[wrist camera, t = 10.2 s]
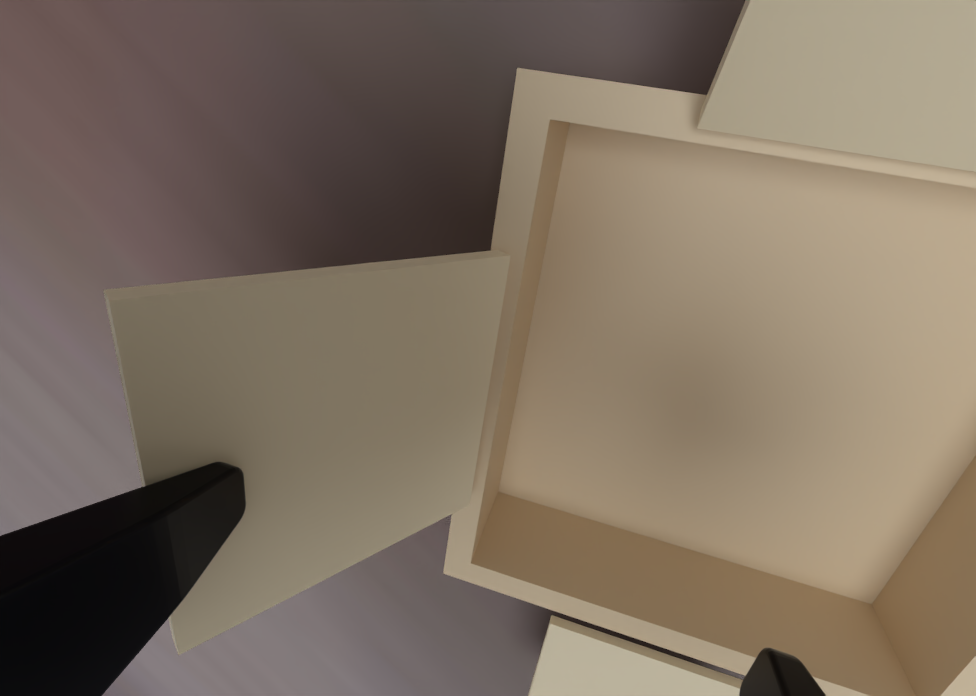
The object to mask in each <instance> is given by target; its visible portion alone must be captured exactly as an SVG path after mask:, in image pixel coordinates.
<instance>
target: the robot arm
mask: <svg viewBox="0 0 976 696" xmlns="http://www.w3.org/2000/svg"><path fill="white" fill-rule="evenodd" d="M245 508H246V496H245V484H244V474H243V471H242V470H241V469H240V468H239V467H236V466H233V465H230V464H227V463H224V462H214V463H211V464H208V465H205V466H202V467H199V468H196V469H193V470H190V471H187V472H185V473H182V474H179V475H176V476H173V477H170V478H167V479H164V480H161V481H158V482H155V483H153V484H150V485H147V486H144V487H141V488H138V489H135V490H132V491H129V492H126V493H124V494H121V495H118V496H115V497H112V498H109V499H106V500H103V501H100V502H97V503H95V504H92V505H89V506H86V507H83V508H80V509H77V510H74V511H71V512H68V513H65V514H63V515H60V516H57V517H54V518H51V519H48V520H45V521H42V522H39V523H36V524H34V525H31V526H28V527H25V528H22V529H19V530H16V531H13V532H10V533H7V534H4V535H2V536H0V696H102V695H103V694H104V692H105V691H106V690H107V689H108V688H109V687H110V685H111V684H112V683H113V682H114V681H115V680H116V678H117V677H118V676H119V675H120V674H121V673H122V671H123V670H124V669H125V668H126V667H127V666H128V664H129V663H130V662H131V661H132V660H133V659H134V657H135V656H136V655H137V654H138V653H139V652H140V650H141V649H142V648H143V647H144V646H145V645H146V643H147V642H148V641H149V640H150V639H151V638H152V636H153V635H154V634H155V633H156V632H157V631H158V629H159V628H160V627H161V626H162V625H163V624H164V622H165V621H166V620H167V619H168V618H169V617H170V615H171V614H172V613H173V612H174V611H175V609H176V608H177V607H178V606H179V604H180V603H181V602H182V601H183V599H184V598H185V597H186V595H187V594H188V593H189V592H190V590H191V589H192V588H193V586H194V585H195V583H196V582H197V581H198V579H199V578H200V576H201V575H202V574H203V572H204V571H205V569H206V568H207V566H208V565H209V564H210V562H211V561H212V559H213V558H214V557H215V555H216V554H217V552H218V551H219V550H220V548H221V547H222V545H223V544H224V543H225V541H226V540H227V538H228V537H229V536H230V534H231V533H232V531H233V530H234V529H235V527H236V526H237V524H238V523H239V522H240V520H241V518H242V517H243V515H244V512H245ZM739 696H826V695H825V693H824V692H823V691H822V689H821V688H820V686H819V685H818V684H817V682H816V681H815V679H814V678H813V677H812V675H811V674H810V672H809V671H808V670H807V668H806V667H805V665H804V664H803V663H802V662H801V661H800V660H799V659H798V658H797V657H795V656H793V655H790V654H787V653H784V652H782V651H779V650H776V649H773V648H768V647H766V648H764V649H762V650H761V651H760V653H759V654H758V656H757V658H756V659H755V661H754V663H753V664H752V666H751V668H750V669H749V671H748V673H747V674H746V676H745V678H744V679H743V681H742V684H741V687H740V692H739Z"/></svg>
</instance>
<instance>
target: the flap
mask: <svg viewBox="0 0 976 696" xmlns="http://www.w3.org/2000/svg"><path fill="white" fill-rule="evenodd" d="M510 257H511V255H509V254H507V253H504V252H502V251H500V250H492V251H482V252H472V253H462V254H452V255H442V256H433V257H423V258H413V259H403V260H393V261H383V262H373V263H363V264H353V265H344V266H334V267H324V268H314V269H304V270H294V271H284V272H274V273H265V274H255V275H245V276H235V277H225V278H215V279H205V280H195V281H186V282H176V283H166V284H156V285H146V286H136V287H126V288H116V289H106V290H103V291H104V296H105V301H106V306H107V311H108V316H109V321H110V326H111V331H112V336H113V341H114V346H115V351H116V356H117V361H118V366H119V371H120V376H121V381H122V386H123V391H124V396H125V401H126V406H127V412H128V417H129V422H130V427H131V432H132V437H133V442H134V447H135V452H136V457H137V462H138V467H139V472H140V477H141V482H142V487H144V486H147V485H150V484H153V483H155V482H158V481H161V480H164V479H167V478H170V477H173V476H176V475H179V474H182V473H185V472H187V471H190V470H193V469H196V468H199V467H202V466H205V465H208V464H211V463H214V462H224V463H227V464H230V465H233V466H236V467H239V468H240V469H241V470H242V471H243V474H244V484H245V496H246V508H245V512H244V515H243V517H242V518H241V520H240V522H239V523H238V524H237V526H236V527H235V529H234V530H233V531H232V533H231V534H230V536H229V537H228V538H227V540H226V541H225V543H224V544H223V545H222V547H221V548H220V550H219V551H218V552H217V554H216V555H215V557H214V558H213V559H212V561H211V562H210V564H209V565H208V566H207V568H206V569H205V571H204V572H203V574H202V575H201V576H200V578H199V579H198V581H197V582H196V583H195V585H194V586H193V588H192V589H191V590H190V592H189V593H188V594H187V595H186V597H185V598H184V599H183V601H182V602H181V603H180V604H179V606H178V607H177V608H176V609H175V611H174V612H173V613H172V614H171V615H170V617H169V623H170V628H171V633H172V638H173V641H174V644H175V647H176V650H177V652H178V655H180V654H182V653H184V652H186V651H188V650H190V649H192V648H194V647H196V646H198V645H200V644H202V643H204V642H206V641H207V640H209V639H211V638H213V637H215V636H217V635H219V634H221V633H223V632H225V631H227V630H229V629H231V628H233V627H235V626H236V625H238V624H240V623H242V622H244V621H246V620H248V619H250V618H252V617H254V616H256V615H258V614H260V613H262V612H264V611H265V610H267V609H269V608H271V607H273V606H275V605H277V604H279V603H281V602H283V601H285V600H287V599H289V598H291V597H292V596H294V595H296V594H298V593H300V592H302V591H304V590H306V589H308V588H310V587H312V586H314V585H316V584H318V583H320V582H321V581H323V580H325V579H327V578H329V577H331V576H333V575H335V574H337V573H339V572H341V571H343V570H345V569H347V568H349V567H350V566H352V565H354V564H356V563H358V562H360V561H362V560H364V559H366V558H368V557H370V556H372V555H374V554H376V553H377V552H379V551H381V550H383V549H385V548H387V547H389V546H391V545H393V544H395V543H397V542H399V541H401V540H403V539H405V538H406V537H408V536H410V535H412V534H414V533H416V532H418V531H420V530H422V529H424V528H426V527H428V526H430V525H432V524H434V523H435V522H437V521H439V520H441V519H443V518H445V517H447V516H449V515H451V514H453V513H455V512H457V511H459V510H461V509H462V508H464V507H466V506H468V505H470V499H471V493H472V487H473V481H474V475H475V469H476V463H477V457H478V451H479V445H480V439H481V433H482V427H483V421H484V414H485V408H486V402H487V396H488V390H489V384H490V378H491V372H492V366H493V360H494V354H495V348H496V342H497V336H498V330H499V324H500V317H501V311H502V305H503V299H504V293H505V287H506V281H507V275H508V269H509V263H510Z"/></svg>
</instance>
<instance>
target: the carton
mask: <svg viewBox="0 0 976 696" xmlns="http://www.w3.org/2000/svg"><path fill="white" fill-rule="evenodd" d="M706 96H707V95H702V94H695V93H688V92H681V91H674V90H667V89H660V88H653V87H647V86H640V85H633V84H626V83H619V82H612V81H605V80H598V79H591V78H584V77H577V76H571V75H564V74H557V73H550V72H543V71H536V70H529V69H522V68H517V73H516V80H515V87H514V94H513V101H512V107H511V114H510V121H509V128H508V135H507V142H506V148H505V155H504V162H503V169H502V176H501V182H500V189H499V196H498V203H497V210H496V217H495V223H494V230H493V237H492V244H491V251H492V250H500V251H502V252H504V253H507V254H509V255H511V257H510V263H509V269H508V275H507V281H506V287H505V293H504V299H503V305H502V311H501V317H500V324H499V330H498V336H497V342H496V348H495V354H494V360H493V366H492V372H491V378H490V384H489V390H488V396H487V402H486V408H485V414H484V421H483V427H482V433H481V439H480V445H479V451H478V457H477V463H476V469H475V475H474V481H473V487H472V493H471V499H470V505H468V506H466V507H464V508H462V509H461V510H459V511H457V512H455V513H453V514H452V517H451V523H450V530H449V537H448V544H447V551H446V558H445V564H444V571H443V574H446V575H449V576H452V577H455V578H458V579H461V580H464V581H467V582H470V583H473V584H476V585H479V586H482V587H485V588H488V589H491V590H493V591H496V592H499V593H502V594H505V595H508V596H511V597H514V598H517V599H520V600H523V601H526V602H529V603H532V604H535V605H538V606H541V607H544V608H547V609H550V610H553V611H556V612H559V613H562V614H564V615H567V616H570V617H573V618H576V619H579V620H582V621H585V622H588V623H591V624H594V625H597V626H600V627H603V628H606V629H609V630H612V631H615V632H618V633H621V634H624V635H627V636H630V637H632V638H635V639H638V640H641V641H644V642H647V643H650V644H653V645H656V646H659V647H662V648H665V649H668V650H671V651H674V652H677V653H680V654H683V655H686V656H689V657H692V658H695V659H698V660H701V661H703V662H706V663H709V664H712V665H715V666H718V667H721V668H724V669H727V670H730V671H733V672H736V673H739V674H742V675H745V676H746V674H747V673H748V671H749V669H750V668H751V666H752V664H753V663H754V661H755V659H756V658H757V656H758V654H759V653H760V651H761V650H762V649H764V648H766V647H768V648H773V649H776V650H779V651H782V652H784V653H787V654H790V655H793V656H795V657H797V658H798V659H799V660H800V661H801V662H802V663H803V664H804V665H805V667H806V668H807V670H808V671H809V672H810V674H811V675H812V677H813V678H814V679H815V681H816V682H817V684H818V685H819V686H820V688H821V689H822V691H823V692H824V693H825V695H826V696H976V172H973V171H966V170H960V169H954V168H947V167H941V166H935V165H928V164H922V163H915V162H909V161H903V160H896V159H890V158H883V157H877V156H871V155H864V154H858V153H852V152H845V151H839V150H832V149H826V148H820V147H813V146H807V145H800V144H794V143H788V142H781V141H775V140H769V139H762V138H756V137H749V136H743V135H737V134H730V133H724V132H718V131H711V130H705V129H698V128H697V126H698V122H699V117H700V113H701V109H702V106H703V104H704V101H705V99H706ZM742 681H743V680H741V679H738V678H735V677H733V676H730V675H727V674H724V673H721V672H718V671H715V670H712V669H709V668H706V667H703V666H700V665H697V664H694V663H691V662H688V661H685V660H683V659H680V658H677V657H674V656H671V655H668V654H665V653H662V652H659V651H656V650H653V649H650V648H647V647H644V646H641V645H638V644H635V643H632V642H630V641H627V640H624V639H621V638H618V637H615V636H612V635H609V634H606V633H603V632H600V631H597V630H594V629H591V628H588V627H585V626H582V625H580V624H577V623H574V622H571V621H568V620H565V619H562V618H559V617H556V616H553V615H551V618H550V621H549V625H548V628H547V632H546V635H545V638H544V642H543V645H542V649H541V652H540V655H539V659H538V662H537V666H536V669H535V672H534V676H533V679H532V683H531V686H530V689H529V693H528V696H739V692H740V687H741V684H742Z"/></svg>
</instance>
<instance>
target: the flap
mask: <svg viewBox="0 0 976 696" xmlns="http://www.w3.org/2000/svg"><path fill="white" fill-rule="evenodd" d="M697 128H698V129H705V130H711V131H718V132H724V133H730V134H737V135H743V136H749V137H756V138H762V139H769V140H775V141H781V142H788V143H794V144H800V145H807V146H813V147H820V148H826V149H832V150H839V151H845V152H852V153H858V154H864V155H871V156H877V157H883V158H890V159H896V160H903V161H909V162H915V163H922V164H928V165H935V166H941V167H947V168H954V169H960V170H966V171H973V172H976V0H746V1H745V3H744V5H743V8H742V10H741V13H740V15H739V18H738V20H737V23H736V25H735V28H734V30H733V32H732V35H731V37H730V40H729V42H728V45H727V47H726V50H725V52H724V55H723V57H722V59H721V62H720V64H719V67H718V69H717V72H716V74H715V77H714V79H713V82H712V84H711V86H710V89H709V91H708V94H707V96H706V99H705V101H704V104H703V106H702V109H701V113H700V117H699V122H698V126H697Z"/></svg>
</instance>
